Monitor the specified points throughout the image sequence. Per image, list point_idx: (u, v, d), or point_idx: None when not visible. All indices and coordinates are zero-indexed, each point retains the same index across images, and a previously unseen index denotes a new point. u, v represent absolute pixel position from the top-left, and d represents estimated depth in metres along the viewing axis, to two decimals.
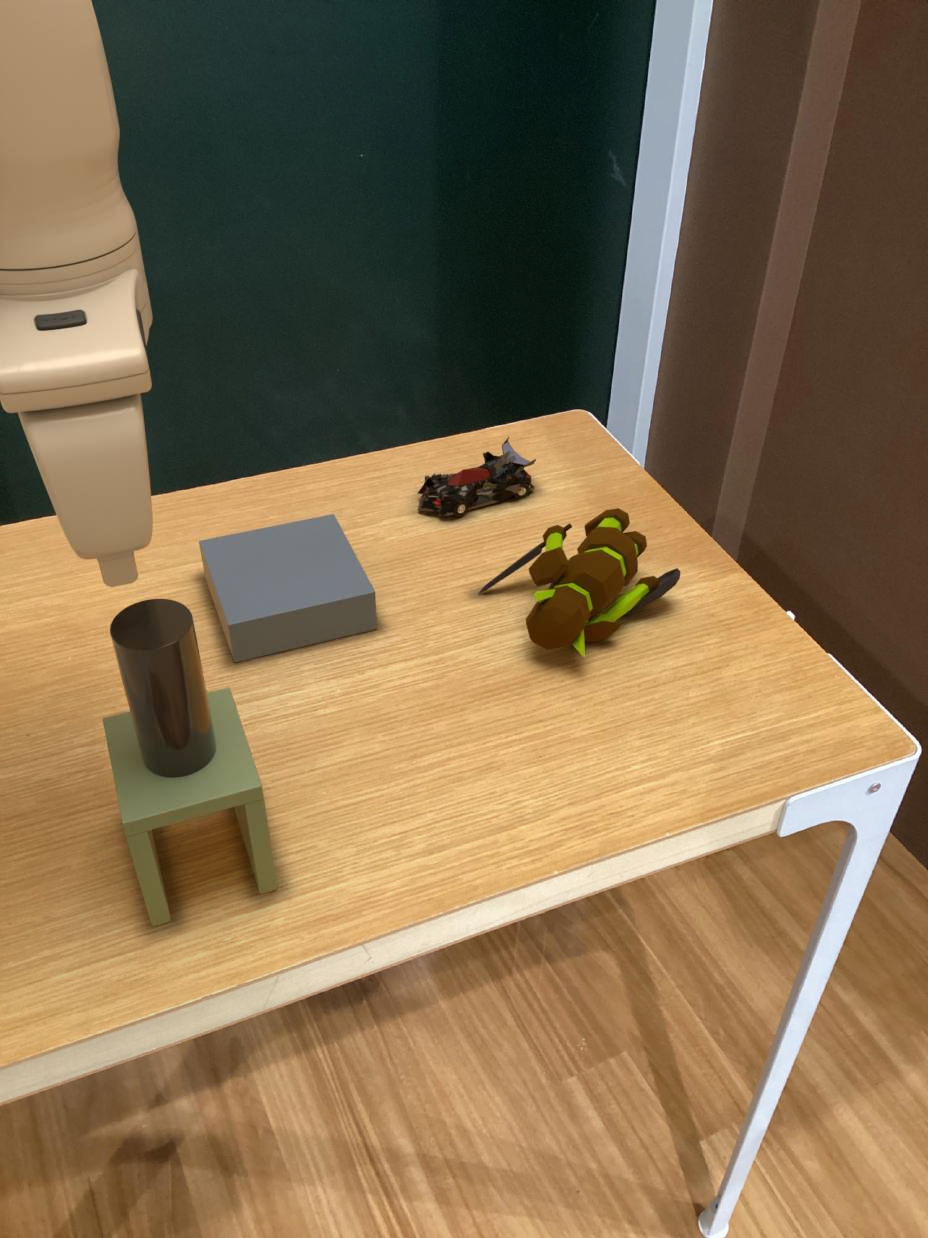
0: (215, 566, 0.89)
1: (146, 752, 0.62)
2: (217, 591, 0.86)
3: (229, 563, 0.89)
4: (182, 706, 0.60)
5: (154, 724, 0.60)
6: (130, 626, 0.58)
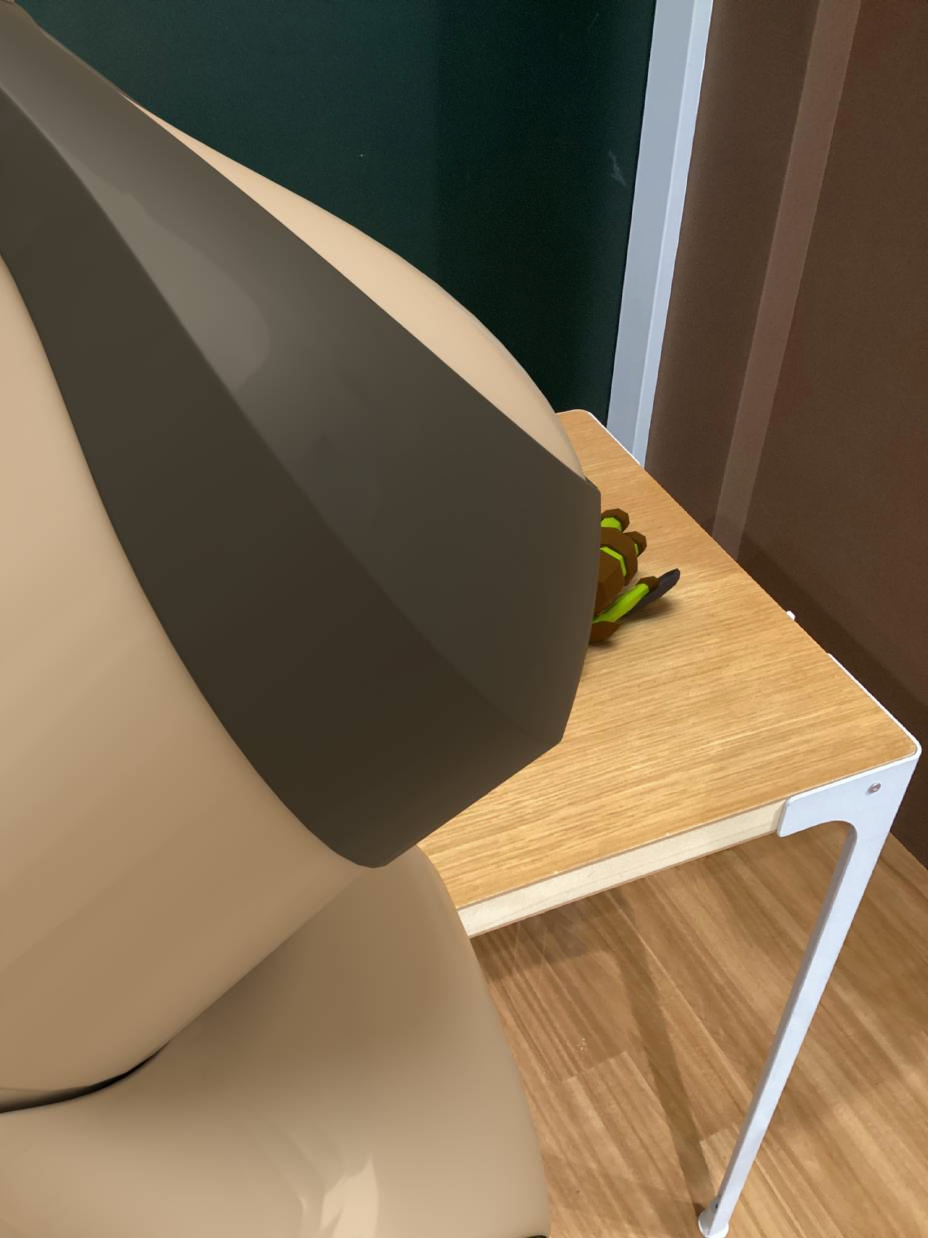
0: None
1: None
2: None
3: None
4: None
5: None
6: None
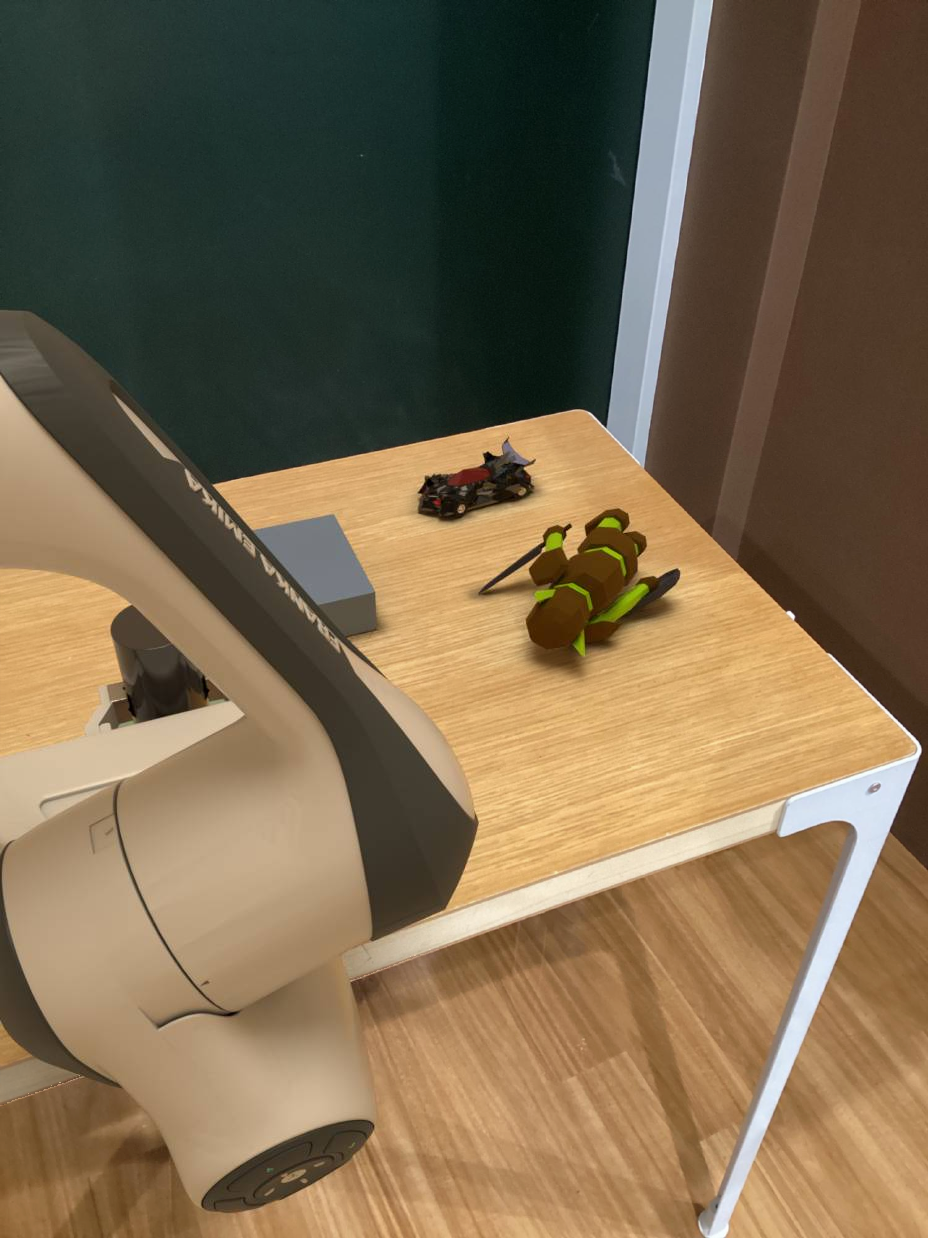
0: None
1: None
2: None
3: None
4: (182, 706, 0.60)
5: None
6: (131, 625, 0.58)
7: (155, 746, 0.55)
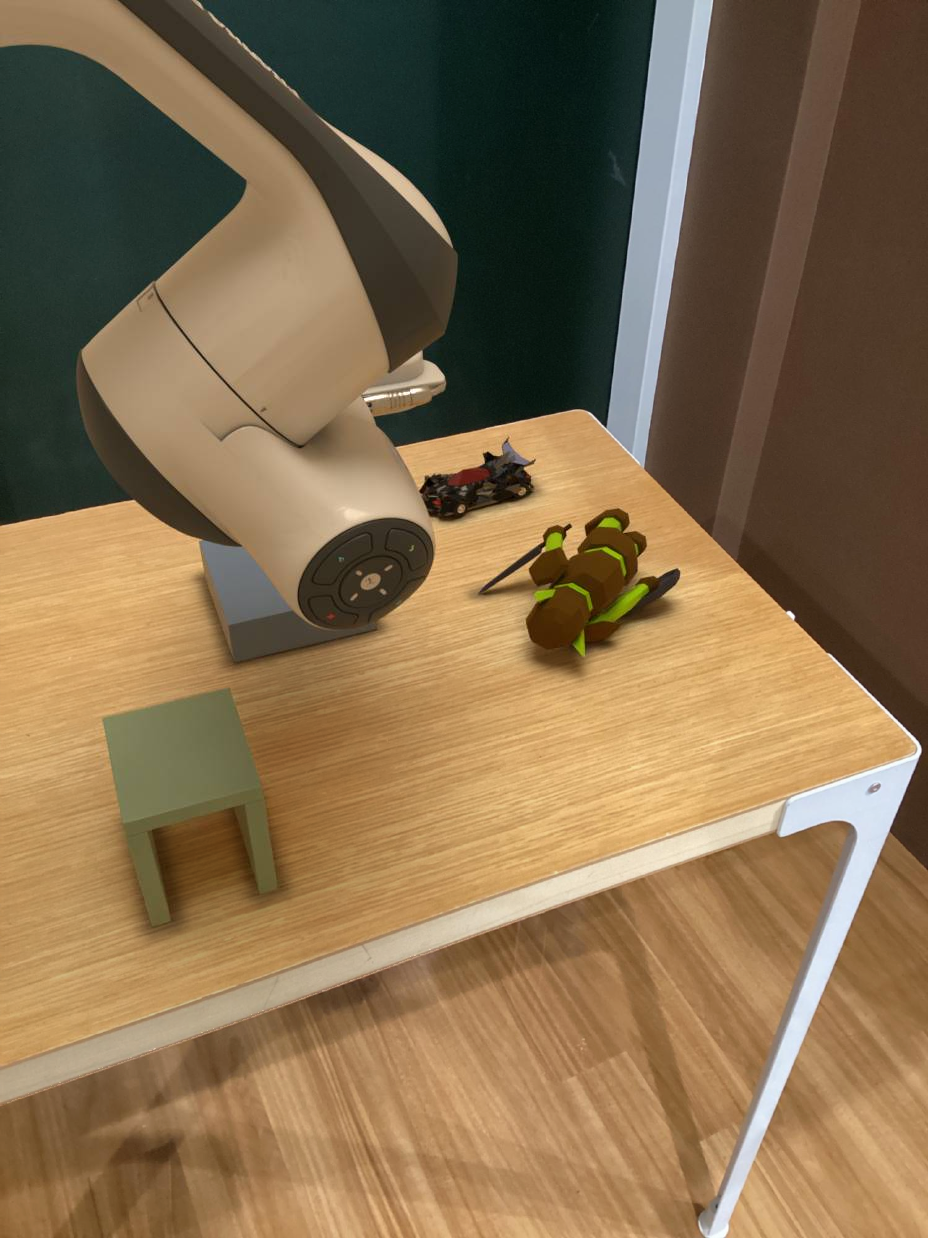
0: (215, 566, 0.89)
1: None
2: (217, 591, 0.86)
3: (229, 563, 0.89)
4: None
5: None
6: None
7: None
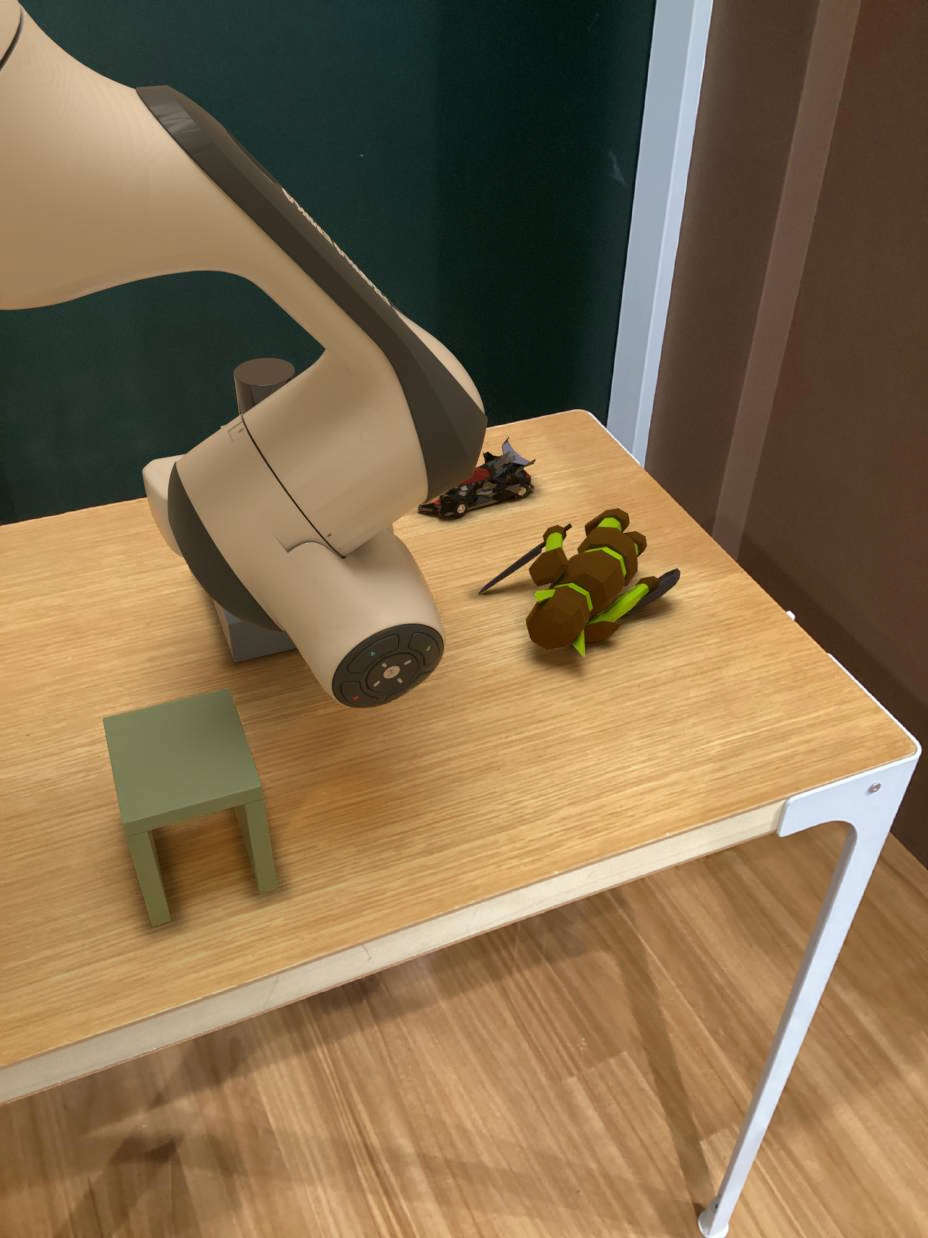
0: None
1: None
2: None
3: None
4: None
5: None
6: (249, 372, 0.77)
7: None
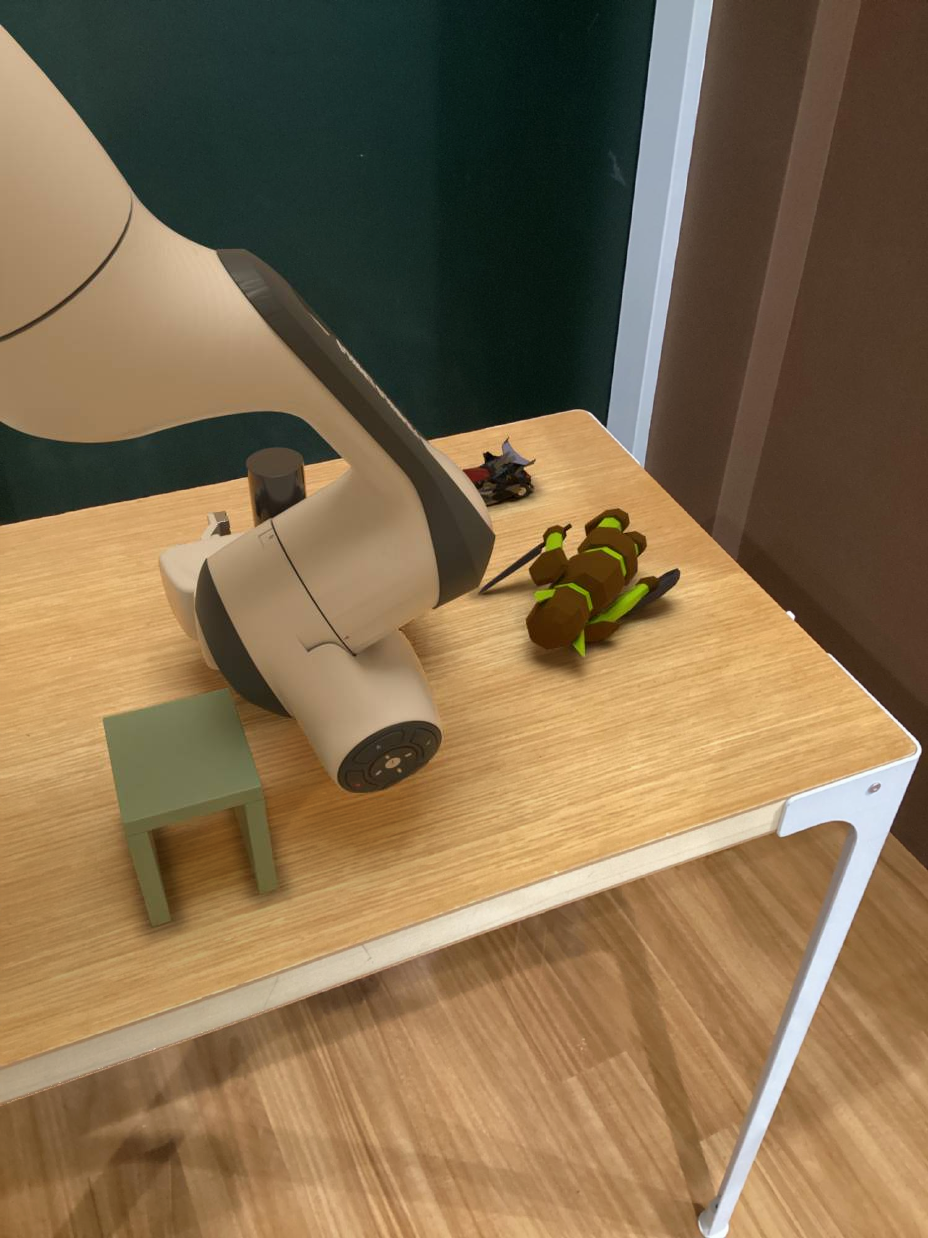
0: None
1: None
2: None
3: None
4: None
5: None
6: (260, 463, 0.82)
7: None
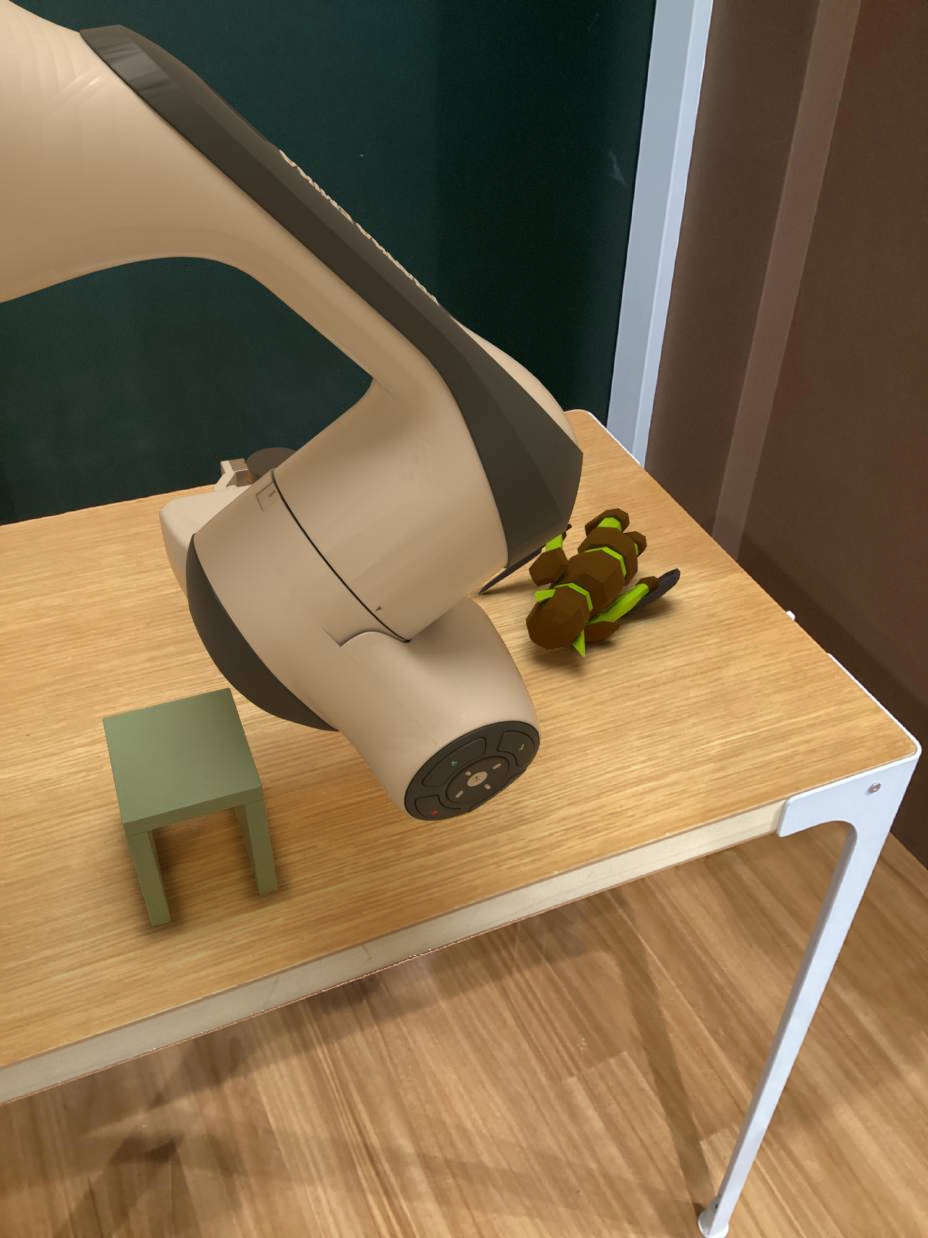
0: None
1: None
2: None
3: None
4: None
5: None
6: (260, 463, 0.82)
7: None
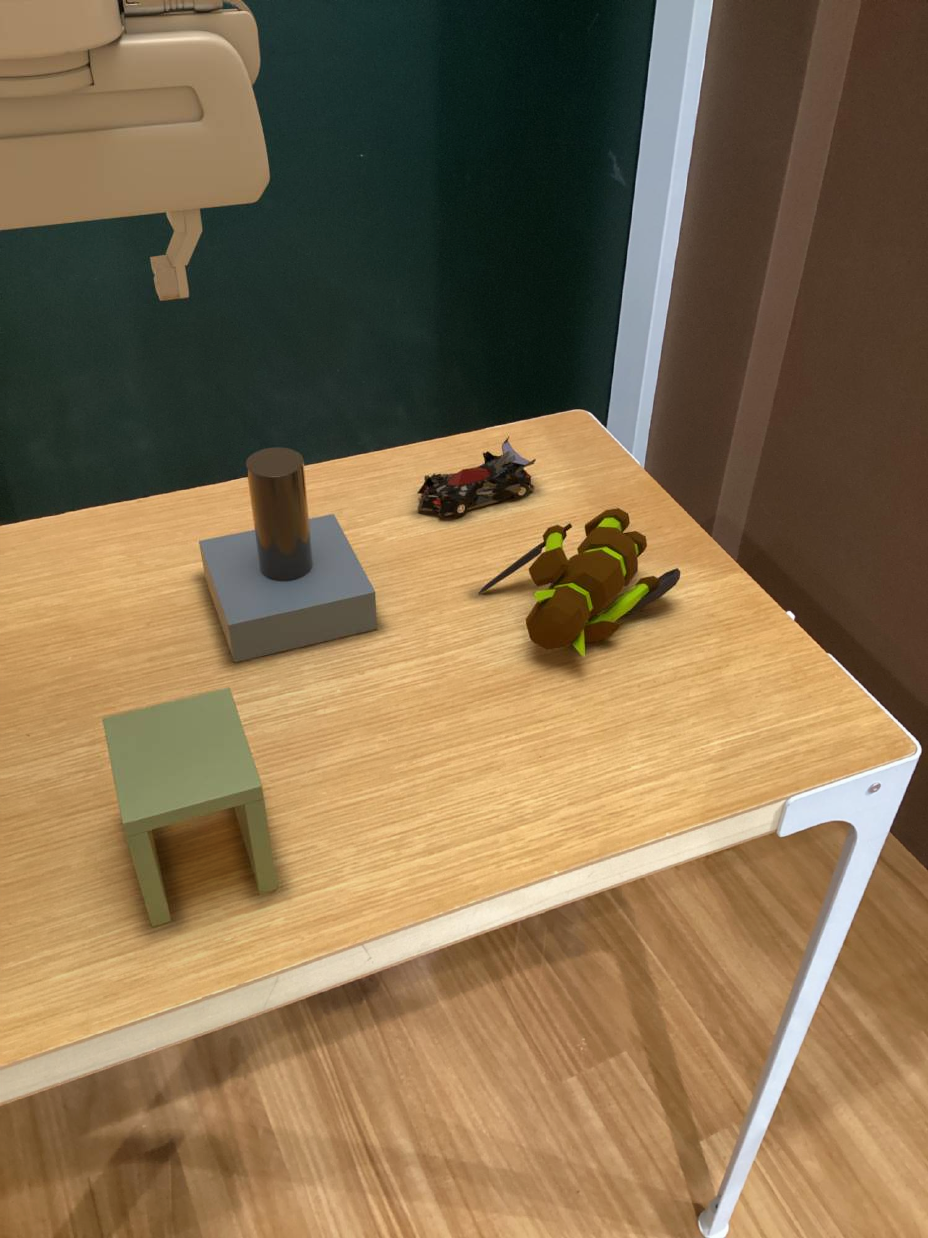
0: (215, 566, 0.89)
1: (265, 561, 0.86)
2: (217, 591, 0.86)
3: (229, 563, 0.89)
4: (294, 523, 0.84)
5: (274, 536, 0.84)
6: (260, 463, 0.82)
7: None
